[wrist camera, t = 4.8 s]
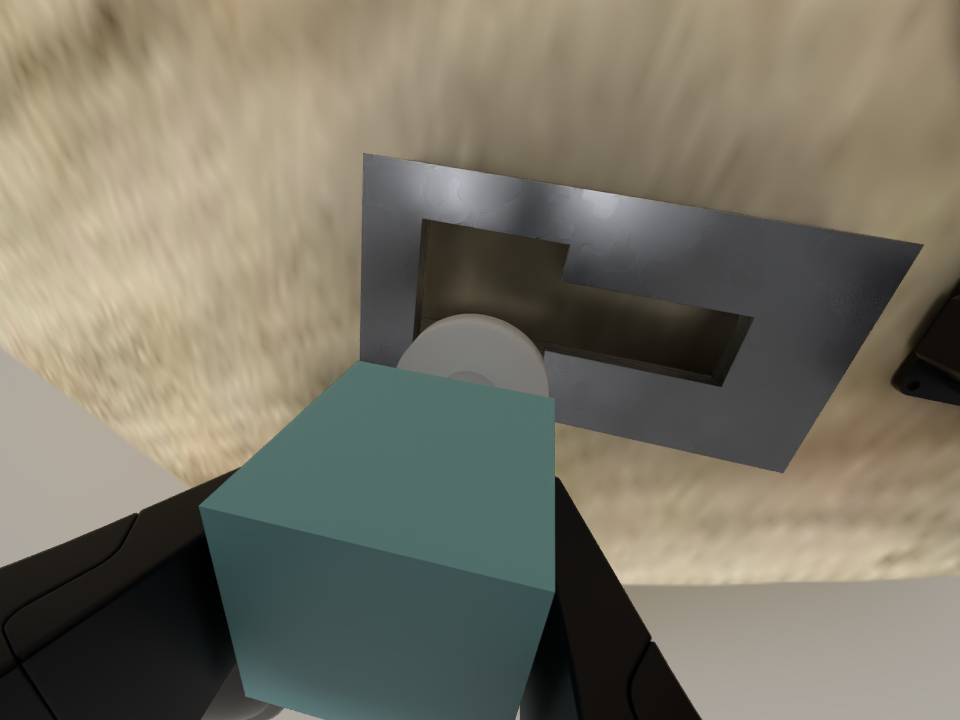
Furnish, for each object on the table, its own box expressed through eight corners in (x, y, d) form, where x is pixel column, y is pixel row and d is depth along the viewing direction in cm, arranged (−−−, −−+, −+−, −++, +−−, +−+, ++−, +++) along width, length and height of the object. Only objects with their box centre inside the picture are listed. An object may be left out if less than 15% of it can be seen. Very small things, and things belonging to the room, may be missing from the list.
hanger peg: (563, 328, 11) (579, 584, 4) (534, 456, 13) (510, 780, 6) (407, 301, 11) (179, 488, 4) (402, 429, 13) (235, 699, 6)
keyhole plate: (824, 227, 16) (923, 244, 12) (733, 408, 20) (783, 473, 16) (411, 160, 18) (363, 153, 14) (400, 338, 22) (359, 378, 18)
